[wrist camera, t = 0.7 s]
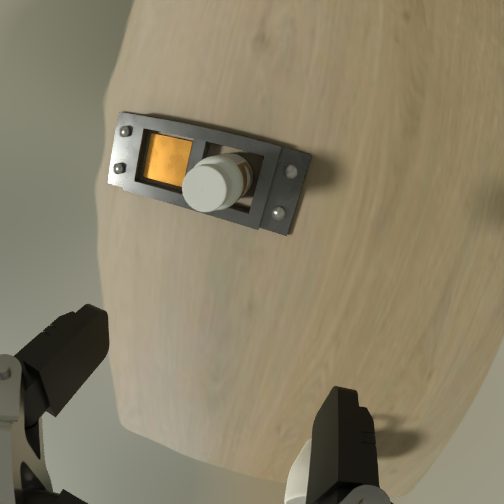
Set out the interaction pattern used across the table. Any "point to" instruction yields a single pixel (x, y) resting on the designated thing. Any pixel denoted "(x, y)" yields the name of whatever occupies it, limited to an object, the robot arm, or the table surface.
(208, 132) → the metal frame plate
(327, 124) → the table surface
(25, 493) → the robot arm
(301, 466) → the mug
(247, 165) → the pill bottle
